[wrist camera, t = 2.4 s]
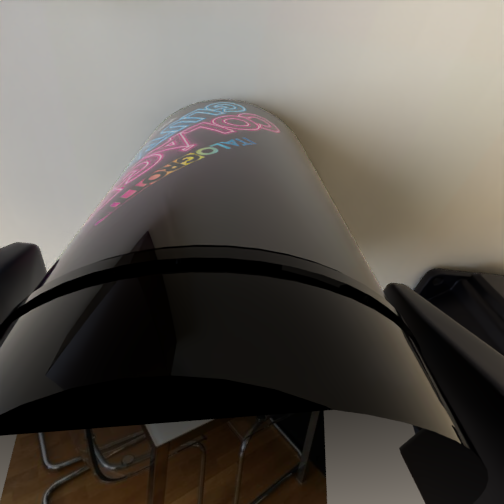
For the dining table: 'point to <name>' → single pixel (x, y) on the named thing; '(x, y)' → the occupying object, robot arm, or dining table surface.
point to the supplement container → (221, 344)
